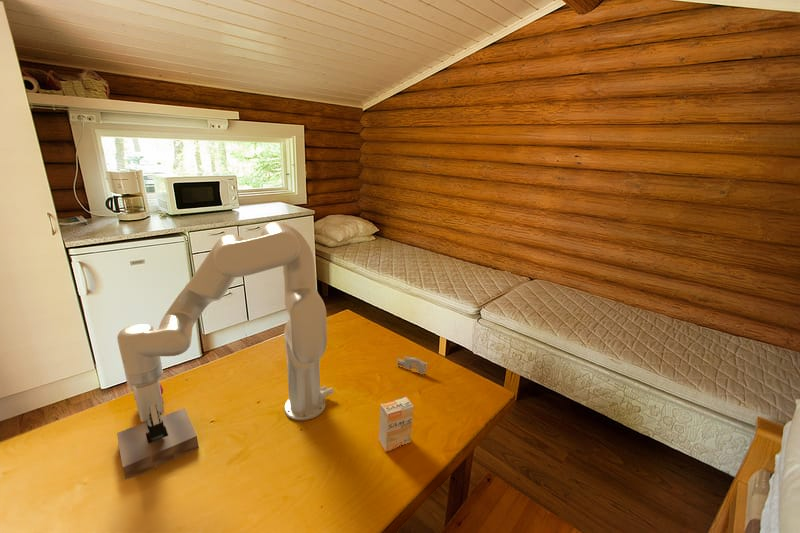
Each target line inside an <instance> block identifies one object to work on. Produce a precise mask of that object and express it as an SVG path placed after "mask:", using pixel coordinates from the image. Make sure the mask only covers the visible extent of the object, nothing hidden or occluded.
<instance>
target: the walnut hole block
mask: <svg viewBox="0 0 800 533" xmlns="http://www.w3.org/2000/svg"><path fill="white" fill-rule="evenodd" d="M161 419H162V420H163V425H164V430H165V433H164V437H163V438H161V439H159V440H156V441H154V442H151V438H150V434H149V430H148V427H147V422H146V421H145V422H142V423H140V424H137V425H135V426H132V427H129V428H127V429H125V430H122V431H118V432H116V436H117V442H118V448H119V449H118V450H119V454H120V460H121V461H120V462H121V466H122V470H123V475H124V478H125V481H127V480H129V479H131V478H134V477H137V476H138V475H140V474H143V473H145V472H147V471H150V470H152V469H155V468H156V467H158V466H162V465H163V464H165V463H168V462H169V461H172V460H174V459H177V458H179V457H182V456H183V455H185V454H188V453H190V452H192V451H195V450H196V449H199V448H200V447H199V441H198V435H197V433H196V430H195V428H194V426H193V423H192V421H191V419H190V416H189V414H188V412H187V410H186V408H185V407H183V408H180V409H177V410H174V411H171V412H169V413H166V414H164V415H161Z"/></svg>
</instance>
